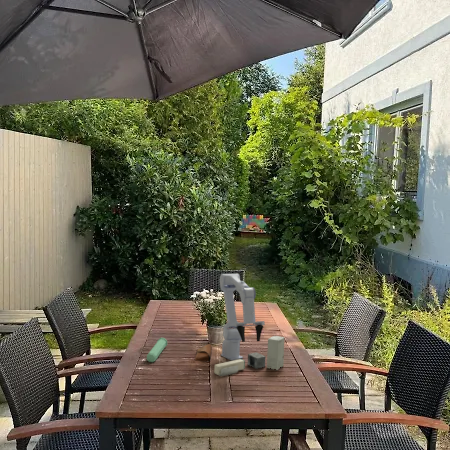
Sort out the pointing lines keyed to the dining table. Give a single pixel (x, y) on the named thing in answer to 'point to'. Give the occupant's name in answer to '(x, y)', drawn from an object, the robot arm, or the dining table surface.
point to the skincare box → (275, 352)
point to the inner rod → (229, 365)
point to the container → (157, 349)
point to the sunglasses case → (204, 353)
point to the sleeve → (229, 370)
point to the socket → (256, 360)
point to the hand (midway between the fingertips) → (250, 341)
